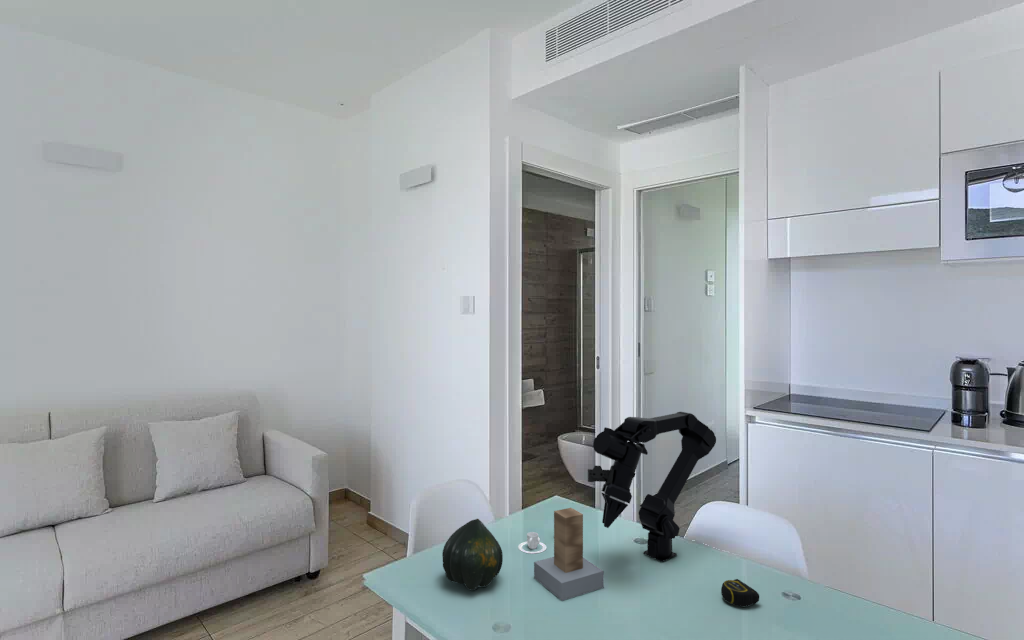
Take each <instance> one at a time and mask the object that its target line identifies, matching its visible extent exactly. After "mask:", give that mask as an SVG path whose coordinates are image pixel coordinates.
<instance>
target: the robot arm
mask: <svg viewBox="0 0 1024 640" xmlns="http://www.w3.org/2000/svg"><path fill="white" fill-rule="evenodd" d="M674 431H678V433H679V434H680V436H681V440H680V442H681V450H680V453H679V455H678V456H677V458H676V460H675V462H674V464H673V465H672V467H671V468H670V470H669V472H668V474H667V476H666V477H665V479H664V481H663V482H662V485H661V486H660V488H659V490H658V491H657V492H656V493H655V494H649V493H648V494H647V495H645V496H644V499H643V501H642V503H641V504H639V507H640V508H639V510H638V518H639V521H640V523H641V527H642V529H643V530H647V531H649V532H647V539H646V540H647V541H646V542H647V549H646V550H643V552H642V553H643V554H644V555H646V556H647V557H650V558H653V559H654V560H657V561H659V562H660V563H661V562H662V563H663V562H666V561H668V560H670V559H673V558H675V557H677V556H678V554H677V552H674V551H673V540H674V539H676V537H678V536H679V533H680V529H681V528H680V526H679V525H678V524H677V522H675V520H674V518H675V515H676V514H675V503H676V501H677V500H678V497H679V495H680V494H681V493H682V490H683V489H684V487H685V484H686V483H687V482H688V479H689V477H690V475H691V474H692V472H693V470H694V469H695V466H696V465H697V463H698V462H699V460H701V459H703V458H705V457H706V456H708V455H709V454H710V452H711V451H712V450H713V449H714V448H715V445H716V443H717V437H716V435H715V432H714V431H713V430H712V429H711V428H709V426H707V425H706V424H705V423H704V422H702V421H700V420H699V419H698V418H697V417H696V415H695V414H694V413H691V412H685V411H677V412H675V413H670V414H665V415H661V416H656V417H649V418H648V417H639V416H628V417H626V418H624V421H623V422H622V423H621V424H620V425H618V427H616V428H614V429H612V428H609V427H604V428H603V431H601V432H599V433H598V434H597V435H596V437H595V438H594V440H593V443H592V444H593V447H592V448H593V450H594V452H595V453H597V454H599V455H601V456H603V457H605V458H608V459H609V460H612V461H613V464H612V465H610V467H609V468H610V469H602V466H601V465H594V466H593V467H592V468H588V469H587V483H594V482H603V486H602V488H601V496H602V497H603V500H604V506H603V515H602V520H601V523H602V524H603V526H604V527H605V528H607V529H609V528H610V527H611V525H613V523H614V522H615V521H616V520H617V519H618V517H620V515H621V514H622V513H623V512H624V511H625V509H626V508H627V507H628V506H629V504H631V500H632V498H633V495H632V493H631V486H632V483H633V479H634V478H635V477H636V474H637V473H636V470H637V468H638V465H639V462H640V458H641V455H648V453H649V452H648V450H647V449H646V447H645V446H646V445H645V444H646V443H648V442H650V441H652V440H655V439H656V438H657V436H658V435H661V434H664V433H670V432H674ZM644 443H645V444H644Z"/></svg>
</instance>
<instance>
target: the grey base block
mask: <svg viewBox="0 0 1024 640" xmlns="http://www.w3.org/2000/svg"><path fill="white" fill-rule="evenodd" d="M604 573H605V571H604V570H603V569H601V568H600V567H598V566H597V565H595V564H594V563H593V562H591V561H589V560H588V559H586V558H585V557H583V568H582V569H579V570H575V571H571V572H567V573H565V572H563V571H562V570H561V569H560V568H558V567H557V566H556V565H554V556H551V557H548V558H543V559H540V560H536V561H534V562H533V579H535V580H536V582H538V583H539V584H541V585H542V586H544V588H545V589H546V590H548V591H549V592H550V593H552V595H554V596H556V597H557V599H559V600H561V601H562V602H563V601H566V600H569V599H571V598H572V599H573V598H575V597H579V596H582V595H584V594H588V593H591V592H594V591H597V590H600V589H603V588H604V586H605V585H604V583H605V582H604V581H605V580H604V578H605V576H604Z"/></svg>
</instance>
